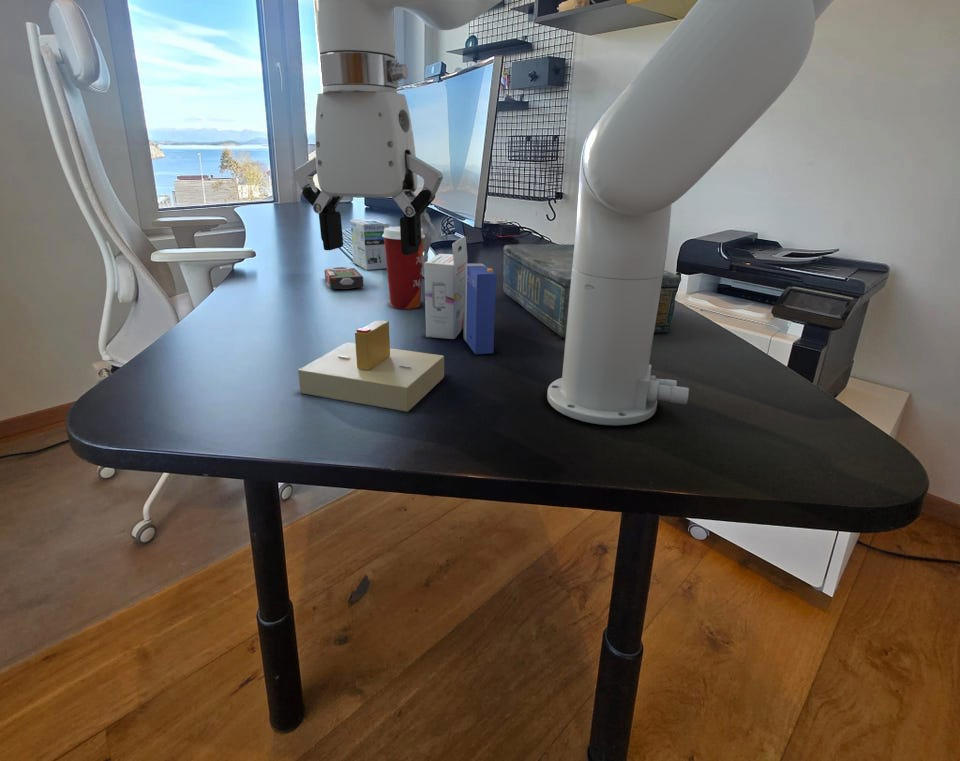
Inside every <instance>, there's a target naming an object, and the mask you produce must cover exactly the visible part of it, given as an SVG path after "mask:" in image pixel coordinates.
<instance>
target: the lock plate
mask: <svg viewBox="0 0 960 761" xmlns="http://www.w3.org/2000/svg"><path fill="white" fill-rule="evenodd" d="M297 374H298V375H297V376H298V383H299V390H300V392H299V393H300V394H302V395H308V396H309V395H310V396H313V397H314V396H315V397H321V398H326V399H333V400H336V401H337V400H338V401H344V402H348V403H355V404H356V403H357V404H360V405H366V406H371V407H378V408H384V409H389V410H394V411H401V412H406V413H408V412H409V411H411V410H412V409H413V408H414V407H415V406H416V405H417V404H418V403H419V402H420V401H421V400H422V399H423V398H425V396H426V395H427V394H428V393H429V392H431V390H433V389H434V388H435V387H436V386H437V385H438V384H439V383H440V382H441V381H442V380H443V379H444V378H445V355H442V354H434V353H427V352H420V351H413V350H406V349H400V348H391V347H390V356H389V357H387V358H386V359H384V360H383V361H382V362H380V363H379V364H377V365H376V366H374V367H373V368H371V369H370V370H364V369H358V368H357V359H356V343H355V342H349V341H348V342H345V343H343V344H341V345H340V346H338V347H336V348H334V349H332V350H331V351H329V352H327V353H326V354H323V355H322V356H320V357H318V358H317V359H315V360H313V361H311V362H309V363H308V364H306V365H304V366H302V367H300V368H299V369H298V370H297Z"/></svg>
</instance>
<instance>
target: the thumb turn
mask: <svg viewBox="0 0 960 761" xmlns="http://www.w3.org/2000/svg"><path fill="white" fill-rule="evenodd" d="M354 343H356V359H357V368H358V369H364V370H370V369H371V368H373V367H374V366H376V365H377V364H379V363H380V362H382V361H383V360H384V359H386V358H387V357H389V356H390V348H391V339H390V321H388V320H383V319H382V320H381V319H377V320H375V321H373V322H371V323H369V324H368V325H366V326H364V327H359V328H357V329H356V331H355V332H354Z"/></svg>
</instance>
